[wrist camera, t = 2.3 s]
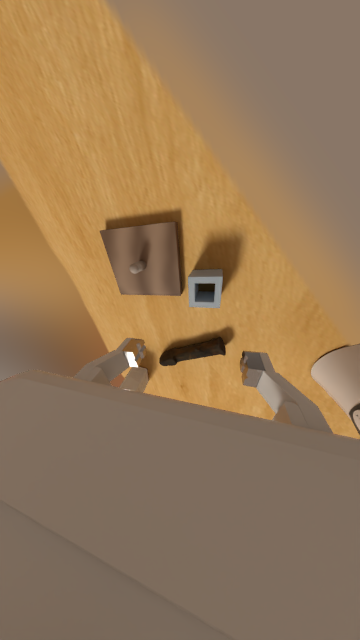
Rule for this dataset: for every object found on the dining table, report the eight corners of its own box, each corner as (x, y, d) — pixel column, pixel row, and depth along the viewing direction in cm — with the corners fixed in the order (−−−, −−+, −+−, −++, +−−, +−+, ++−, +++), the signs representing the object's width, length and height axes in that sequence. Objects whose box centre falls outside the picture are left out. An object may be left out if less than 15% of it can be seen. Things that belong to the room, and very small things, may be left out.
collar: (222, 269, 23) (222, 276, 19) (219, 296, 26) (219, 308, 22) (193, 269, 24) (188, 277, 20) (193, 295, 27) (189, 306, 23)
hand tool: (221, 333, 31) (221, 347, 27) (226, 345, 33) (227, 360, 29) (158, 346, 39) (151, 358, 35) (164, 356, 41) (158, 368, 37)
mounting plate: (177, 222, 21) (166, 219, 17) (182, 293, 28) (175, 304, 23) (105, 230, 24) (81, 230, 20) (124, 291, 31) (109, 301, 27)
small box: (133, 364, 47) (114, 393, 39) (147, 368, 46) (131, 398, 38) (135, 377, 52) (119, 405, 43) (148, 381, 51) (134, 410, 42)
